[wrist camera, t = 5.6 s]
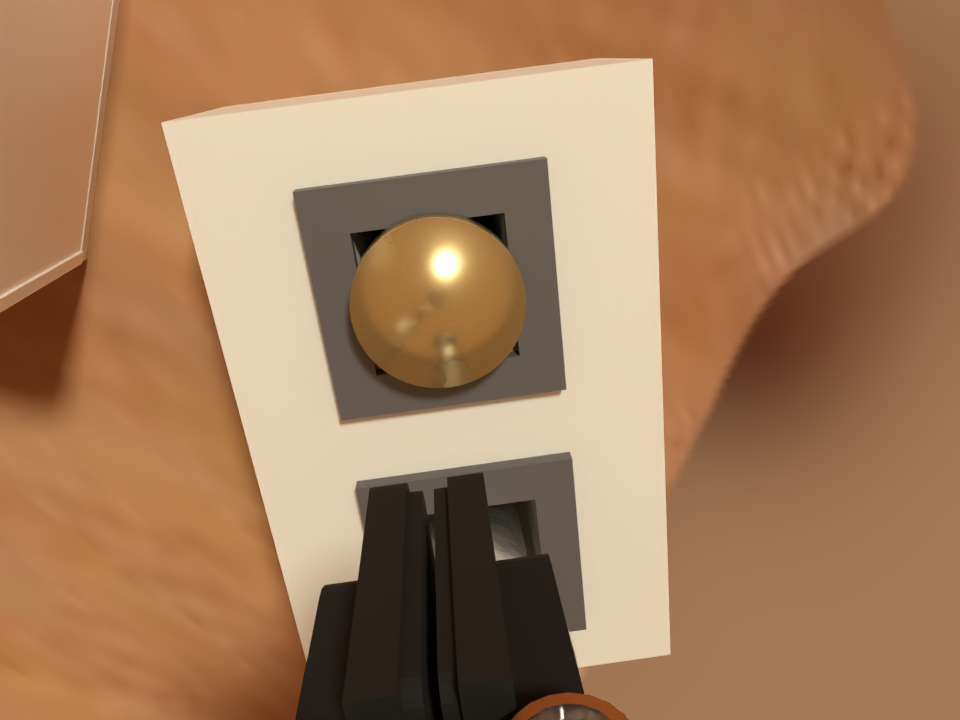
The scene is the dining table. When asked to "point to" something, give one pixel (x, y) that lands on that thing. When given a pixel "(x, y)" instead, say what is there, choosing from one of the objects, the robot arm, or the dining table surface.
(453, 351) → the brass-capped peg
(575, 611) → the socket block
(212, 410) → the dining table surface
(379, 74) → the dining table surface
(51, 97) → the butter dish
